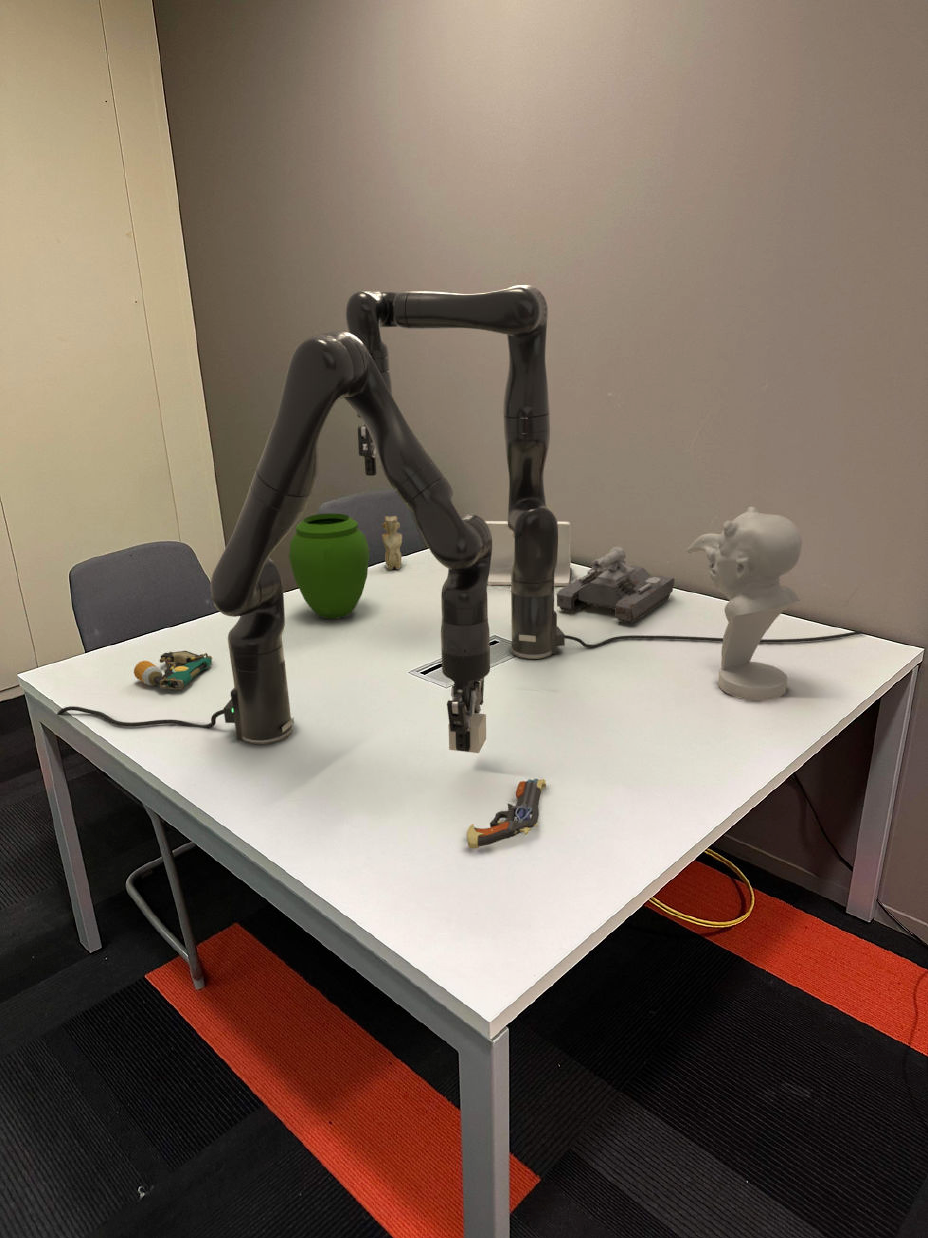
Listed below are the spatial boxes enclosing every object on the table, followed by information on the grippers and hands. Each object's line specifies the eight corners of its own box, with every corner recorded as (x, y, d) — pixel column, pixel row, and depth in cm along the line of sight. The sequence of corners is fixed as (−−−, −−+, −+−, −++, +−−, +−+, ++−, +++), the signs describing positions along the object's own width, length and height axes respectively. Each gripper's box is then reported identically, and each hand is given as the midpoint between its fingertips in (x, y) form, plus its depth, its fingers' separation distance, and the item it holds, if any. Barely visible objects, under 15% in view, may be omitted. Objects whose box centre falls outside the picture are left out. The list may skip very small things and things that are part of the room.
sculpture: (404, 563, 253) (401, 513, 247) (403, 570, 246) (400, 519, 241) (384, 564, 253) (381, 514, 247) (383, 571, 246) (380, 520, 241)
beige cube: (449, 750, 137) (448, 724, 135) (457, 735, 141) (456, 710, 139) (479, 753, 135) (478, 727, 134) (486, 739, 140) (486, 714, 138)
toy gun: (462, 837, 120) (533, 836, 117) (484, 775, 137) (546, 773, 135) (465, 854, 120) (535, 853, 118) (486, 790, 138) (547, 788, 136)
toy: (603, 584, 229) (605, 530, 224) (673, 597, 218) (677, 540, 213) (555, 612, 210) (556, 553, 205) (630, 627, 199) (633, 566, 194)
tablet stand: (569, 585, 229) (570, 524, 223) (476, 584, 232) (475, 523, 226) (570, 566, 246) (571, 508, 240) (484, 564, 249) (483, 507, 243)
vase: (389, 608, 216) (383, 514, 208) (339, 633, 201) (330, 533, 192) (330, 596, 226) (322, 506, 218) (278, 619, 211) (267, 523, 202)
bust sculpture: (719, 649, 185) (733, 490, 173) (809, 690, 165) (831, 514, 153) (662, 665, 178) (671, 501, 166) (748, 710, 158) (766, 527, 146)
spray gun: (177, 659, 191) (231, 671, 185) (120, 684, 176) (176, 698, 171) (176, 641, 190) (230, 653, 184) (118, 665, 175) (174, 678, 169)
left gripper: (477, 665, 125) (479, 767, 131) (499, 630, 137) (500, 724, 143) (428, 660, 126) (432, 761, 133) (454, 626, 139) (457, 719, 145)
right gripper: (377, 397, 170) (382, 478, 176) (402, 390, 183) (406, 465, 188) (343, 397, 172) (349, 477, 178) (370, 390, 185) (375, 465, 191)
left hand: (467, 741), depth 138 cm, fingers closed on beige cube, 5 cm apart
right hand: (378, 471), depth 183 cm, fingers open, 8 cm apart
